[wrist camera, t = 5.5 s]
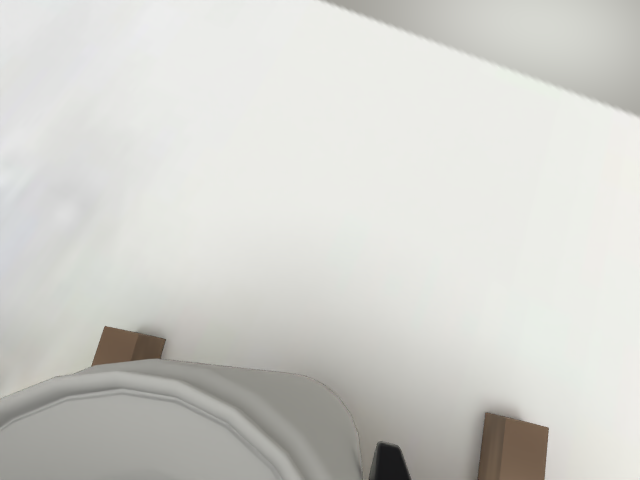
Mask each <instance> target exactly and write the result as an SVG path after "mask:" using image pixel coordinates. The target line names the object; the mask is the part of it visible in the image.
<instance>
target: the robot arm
mask: <svg viewBox="0 0 640 480" xmlns="http://www.w3.org/2000/svg"><path fill="white" fill-rule="evenodd" d="M369 480H411V477H410V474H409V471H408V468H407V465H406V463H405V460H404V457H403V454H402V451H401V449H400V447H399V446H398V445H395V444H391V443H387V442H383V441H380V442H378V443H377V446H376V450H375V454H374V458H373V462H372V466H371V471H370V476H369Z"/></svg>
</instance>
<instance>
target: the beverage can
mask: <svg viewBox="0 0 640 480" xmlns="http://www.w3.org/2000/svg"><path fill="white" fill-rule="evenodd" d="M0 480H363V472H362V461H361V451H360V443H359V435H358V432H357V429H356V427H355V424H354V421H353V419H352V416H351V414H350V413H349V411H348V410H347V408H346V407H345V405H344V404H343V402H342V401H341V400H340V398H339V397H338V396H337V395H336V394H334V393H333V392H332V391H331V390H330V389H328V388H327V387H326V386H325V385H324V384H322V383H320V382H318V381H315V380H313V379H311V378H309V377H307V376H303V375H297V374H291V373H284V372H274V371H265V370H256V369H247V368H238V367H229V366H220V365H211V364H202V363H192V362H183V361H174V360H165V359H146V360H137V361H128V362H119V363H111V364H102V365H94V366H92V367H89V368H87V369H84V370H82V371H79V372H77V373H74V374H72V375H65V376H57V377H54V378H51V379H49V380H46V381H44V382H41V383H38V384H36V385H33V386H31V387H28V388H26V389H23V390H21V391H18V392H16V393H13V394H11V395H8V396H6V397H3V398H1V399H0Z"/></svg>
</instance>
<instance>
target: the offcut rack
mask: <svg viewBox="0 0 640 480" xmlns="http://www.w3.org/2000/svg"><path fill="white" fill-rule="evenodd" d="M165 340H166V339H163V338H158V337H154V336H149V335H145V334H141V333H136V332H131V331H126V330H122V329H117V328H112V327H107V326H105V327H104V330H103V333H102V336H101V339H100V342H99V345H98V348H97V351H96V354H95V357H94V360H93V363H92V366H94V365H102V364H111V363H119V362H128V361H137V360H146V359H160V357H161V353H162V350H163V347H164V343H165ZM92 366H91V367H92ZM548 430H549V428H548V427H544V426H540V425H537V424H533V423H529V422H525V421H521V420H517V419H512V418H508V417H504V416H499V415H495V414H491V413H485V421H484V430H483V438H482V446H481V455H480V463H479V472H478V480H544V477H545V465H546V454H547V442H548Z"/></svg>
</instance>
